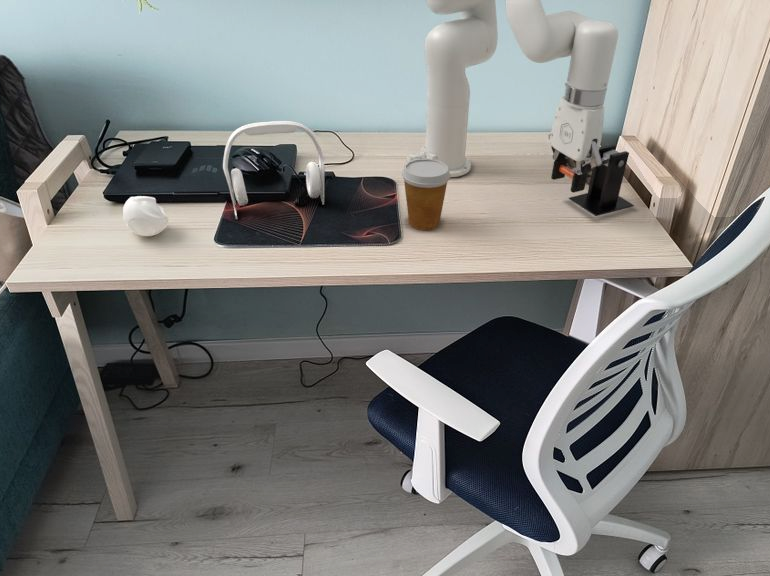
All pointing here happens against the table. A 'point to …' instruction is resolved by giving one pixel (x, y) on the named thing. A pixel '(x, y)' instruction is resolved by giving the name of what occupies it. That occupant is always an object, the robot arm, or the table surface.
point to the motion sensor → (144, 216)
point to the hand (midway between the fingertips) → (567, 183)
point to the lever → (571, 172)
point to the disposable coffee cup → (425, 191)
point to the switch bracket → (605, 185)
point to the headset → (312, 171)
